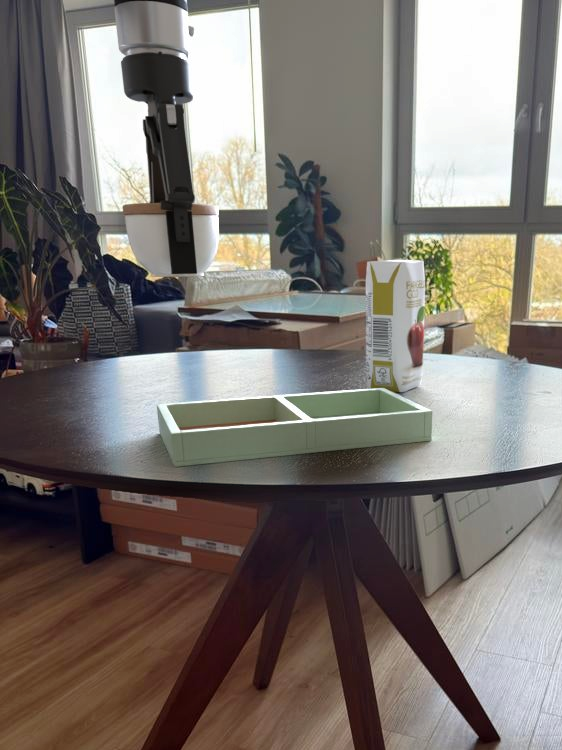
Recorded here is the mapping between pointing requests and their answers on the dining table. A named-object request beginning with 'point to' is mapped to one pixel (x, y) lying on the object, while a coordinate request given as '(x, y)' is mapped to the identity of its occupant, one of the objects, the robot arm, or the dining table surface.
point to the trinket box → (152, 237)
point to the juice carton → (395, 324)
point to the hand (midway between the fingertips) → (177, 272)
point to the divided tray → (289, 425)
